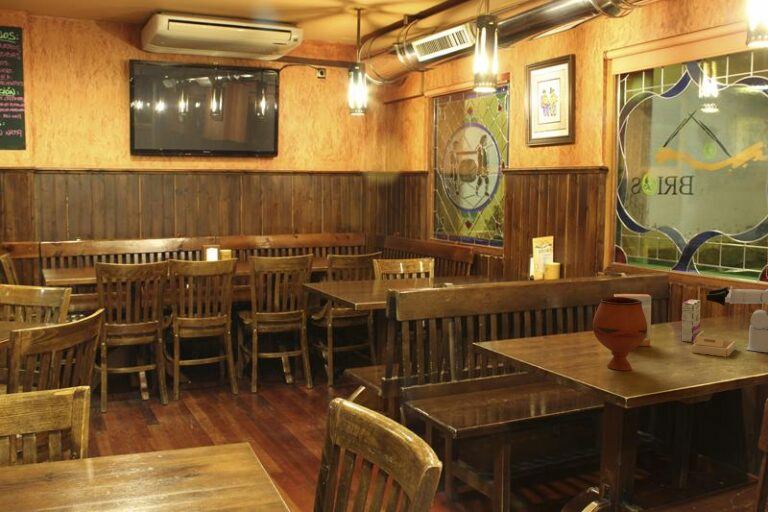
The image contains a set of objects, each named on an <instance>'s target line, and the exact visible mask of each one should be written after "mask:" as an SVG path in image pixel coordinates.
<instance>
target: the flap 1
mask: <svg viewBox="0 0 768 512" xmlns="http://www.w3.org/2000/svg"><path fill="white" fill-rule="evenodd" d="M704 332H705V330H702V331H700V333H699V334H698V335H697V336H701V337H702V335H703V333H704ZM697 336H696V338H695V340H694V341H693V342H692V344H694V343H696V341H697Z"/></svg>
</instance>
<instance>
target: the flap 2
mask: <svg viewBox="0 0 768 512" xmlns="http://www.w3.org/2000/svg"><path fill="white" fill-rule="evenodd" d="M723 340H725V339H724V338H717V337H708V336H702V335H701V336H697V340H696V341H695V343H696V344H699V345H707V346H716V347H723Z"/></svg>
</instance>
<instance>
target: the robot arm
mask: <svg viewBox="0 0 768 512" xmlns="http://www.w3.org/2000/svg"><path fill="white" fill-rule="evenodd" d="M705 298H706V301H709V302H712V303H713V302H714V303H717V304H720V305H722V306H723V307H724V306H726V303H729V305H733V304H741V305H742V304H744V305H745V304H748V305H749V304H750V305H751V304H752V305H759V304H760V305H762V304H764V305H767V306H768V288H766V289H765V290H764V289H751V288H750V289H748V288H747V289H745V288H744V289H743V288H742V289H741V288H740V289H737V288H736V289H735V288H734V287H733V286H732V285H730V287H728V286H725V287H722V288H719V289H714V290H712V289H711V290H709V291H708V294H707V295H706V297H705ZM749 322H750V325H749V330H748V331H749V332H748V334H749V335H748V346H747V347H746V348H745V351H752V352H760V353H766V354H767V353H768V311H766V310H764V309H756V310H754V312H753V313H752V315H751V317H750V320H749Z"/></svg>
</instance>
